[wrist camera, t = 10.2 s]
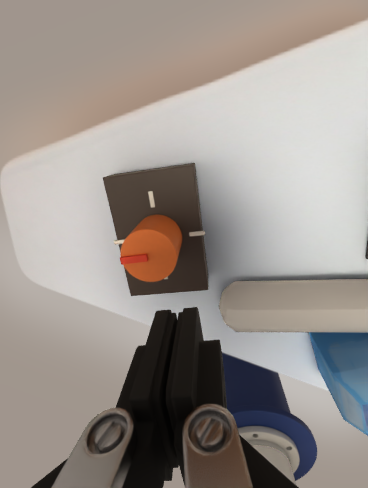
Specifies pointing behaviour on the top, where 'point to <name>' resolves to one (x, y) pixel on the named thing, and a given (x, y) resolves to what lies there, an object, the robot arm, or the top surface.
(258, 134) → the top surface
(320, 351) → the perfume bottle
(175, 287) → the dial block
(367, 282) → the tube
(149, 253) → the dial knob
